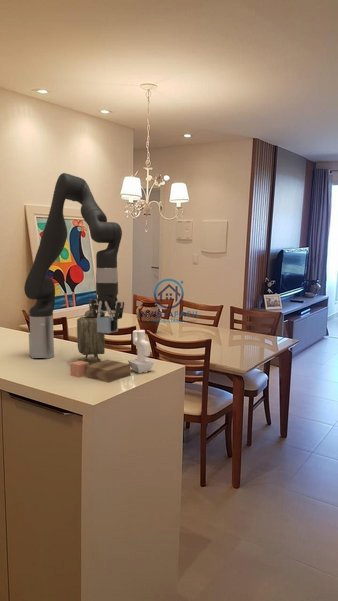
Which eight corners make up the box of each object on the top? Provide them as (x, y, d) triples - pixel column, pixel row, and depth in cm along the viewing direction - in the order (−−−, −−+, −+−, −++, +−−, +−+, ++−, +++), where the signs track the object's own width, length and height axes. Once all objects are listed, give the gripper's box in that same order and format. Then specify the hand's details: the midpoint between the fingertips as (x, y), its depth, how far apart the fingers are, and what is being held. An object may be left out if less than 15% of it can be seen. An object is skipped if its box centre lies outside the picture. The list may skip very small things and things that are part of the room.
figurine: (139, 375, 160) (139, 333, 159) (126, 369, 168) (125, 329, 166) (156, 372, 164) (156, 331, 163) (143, 366, 172) (143, 327, 170)
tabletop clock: (105, 365, 174) (104, 300, 172) (80, 367, 172) (79, 300, 169) (99, 357, 188) (98, 296, 185) (77, 358, 186) (76, 297, 183)
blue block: (97, 331, 157) (96, 317, 157) (107, 329, 161) (107, 315, 161) (107, 333, 154) (107, 318, 154) (117, 331, 158) (117, 317, 158)
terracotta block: (70, 375, 160) (70, 363, 160) (80, 372, 164) (79, 360, 163) (79, 377, 158) (79, 365, 157) (88, 375, 161) (88, 362, 161)
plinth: (85, 376, 158) (85, 365, 158) (107, 370, 167) (107, 359, 167) (108, 382, 152) (108, 370, 151) (130, 375, 161) (130, 364, 160)
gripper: (84, 280, 157) (85, 329, 159) (114, 282, 149) (115, 334, 150) (99, 279, 163) (100, 326, 165) (130, 281, 155) (130, 331, 156)
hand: (107, 330), depth 158 cm, fingers closed on blue block, 5 cm apart
